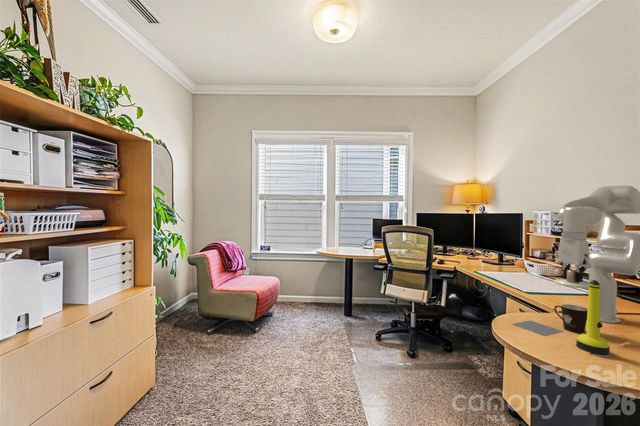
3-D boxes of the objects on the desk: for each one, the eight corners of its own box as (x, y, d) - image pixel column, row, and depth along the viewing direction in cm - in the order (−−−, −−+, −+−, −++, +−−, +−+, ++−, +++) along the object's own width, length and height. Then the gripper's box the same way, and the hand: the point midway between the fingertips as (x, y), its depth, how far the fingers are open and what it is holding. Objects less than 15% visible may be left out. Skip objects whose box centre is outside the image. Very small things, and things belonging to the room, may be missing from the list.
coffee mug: (593, 337, 117) (594, 311, 117) (568, 334, 119) (569, 309, 119) (574, 326, 129) (575, 303, 129) (551, 324, 131) (552, 301, 130)
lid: (564, 280, 132) (564, 267, 132) (598, 287, 121) (598, 272, 121) (548, 282, 127) (548, 268, 127) (582, 289, 116) (582, 274, 116)
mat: (530, 321, 133) (530, 320, 133) (563, 332, 121) (563, 331, 121) (511, 325, 127) (511, 324, 127) (544, 337, 116) (544, 336, 116)
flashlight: (572, 278, 107) (604, 283, 99) (586, 276, 111) (617, 282, 103) (570, 347, 108) (601, 358, 99) (584, 343, 111) (615, 354, 103)
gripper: (548, 234, 132) (547, 276, 132) (586, 238, 115) (585, 285, 115) (563, 235, 133) (562, 276, 133) (603, 238, 116) (602, 285, 116)
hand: (572, 280), depth 124 cm, fingers closed on lid, 4 cm apart
